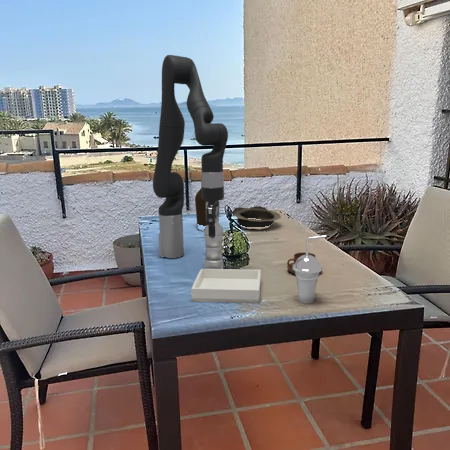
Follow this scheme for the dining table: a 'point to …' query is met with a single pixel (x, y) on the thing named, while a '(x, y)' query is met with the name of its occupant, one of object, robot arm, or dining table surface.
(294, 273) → the cup and saucer
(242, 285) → the tray
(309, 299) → the cup with straw
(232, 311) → the dining table surface
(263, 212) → the stone bowl
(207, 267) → the plastic bottle
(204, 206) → the olive oil
